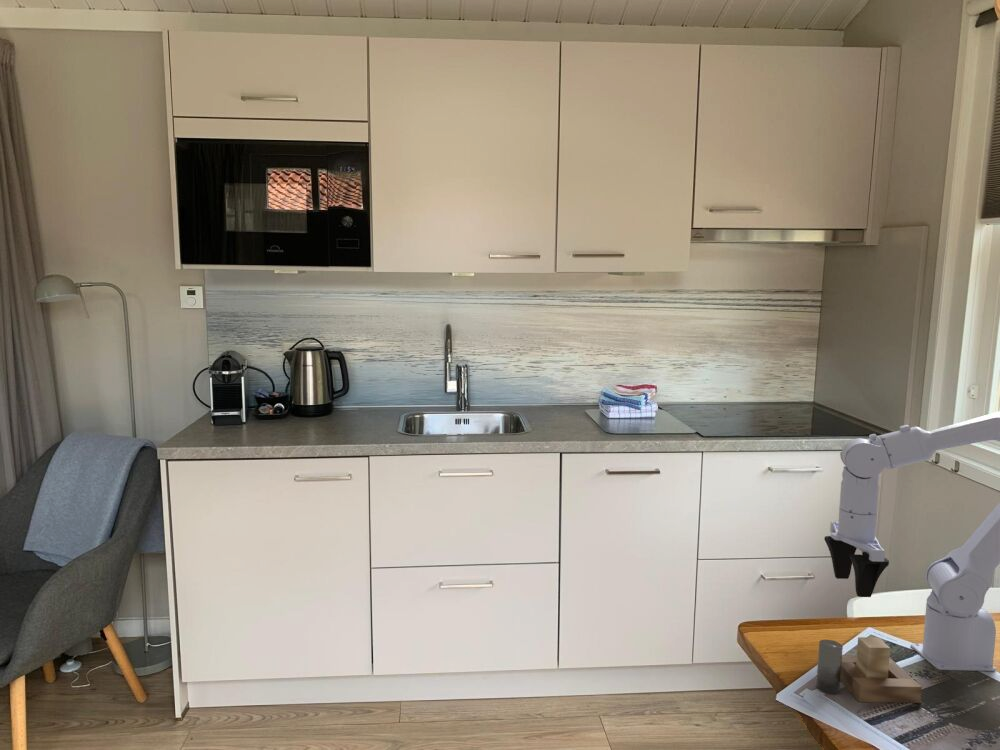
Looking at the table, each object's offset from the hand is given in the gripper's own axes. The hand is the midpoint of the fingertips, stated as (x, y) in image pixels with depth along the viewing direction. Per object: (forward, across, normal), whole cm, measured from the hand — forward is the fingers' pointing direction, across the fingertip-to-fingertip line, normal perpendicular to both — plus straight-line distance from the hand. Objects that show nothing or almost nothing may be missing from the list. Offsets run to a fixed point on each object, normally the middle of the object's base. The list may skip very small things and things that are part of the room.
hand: (852, 586), depth 120 cm
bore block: (+10, +14, -3) cm, 17 cm away
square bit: (+10, +14, -4) cm, 18 cm away
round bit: (+10, +15, -10) cm, 21 cm away
